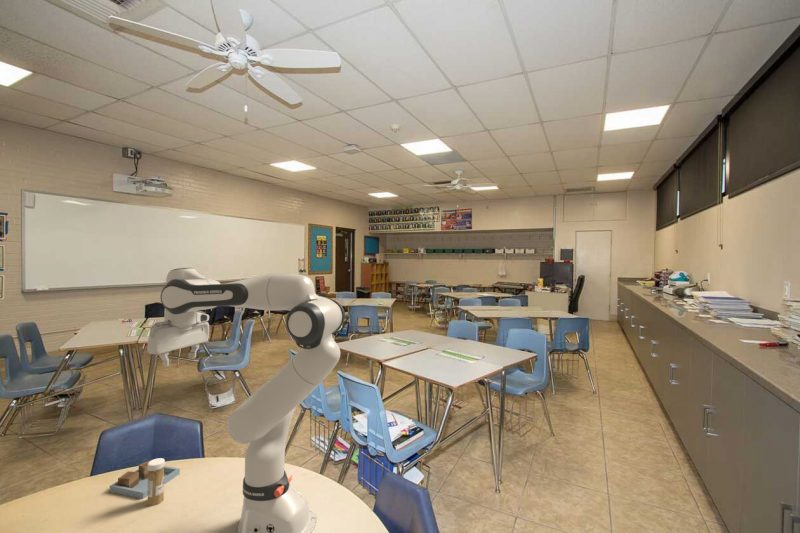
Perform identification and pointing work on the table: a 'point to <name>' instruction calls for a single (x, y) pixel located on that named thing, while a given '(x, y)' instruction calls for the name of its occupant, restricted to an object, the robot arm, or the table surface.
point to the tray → (143, 484)
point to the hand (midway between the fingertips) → (180, 361)
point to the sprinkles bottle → (155, 481)
